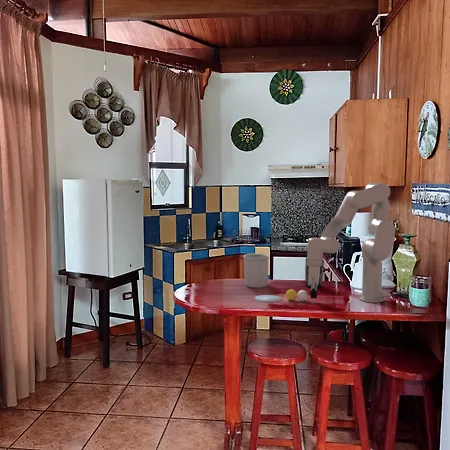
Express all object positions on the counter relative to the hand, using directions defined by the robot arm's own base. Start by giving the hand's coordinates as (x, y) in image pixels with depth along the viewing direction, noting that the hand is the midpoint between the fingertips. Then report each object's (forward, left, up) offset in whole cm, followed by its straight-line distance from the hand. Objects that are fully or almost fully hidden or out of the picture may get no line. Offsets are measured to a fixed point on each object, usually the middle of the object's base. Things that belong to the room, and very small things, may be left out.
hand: (313, 297), depth 229 cm
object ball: (+11, 0, +1) cm, 11 cm away
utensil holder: (+35, -29, -2) cm, 46 cm away
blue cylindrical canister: (+2, -33, -2) cm, 33 cm away
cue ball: (+6, 0, +1) cm, 6 cm away
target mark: (+23, 0, -2) cm, 23 cm away
